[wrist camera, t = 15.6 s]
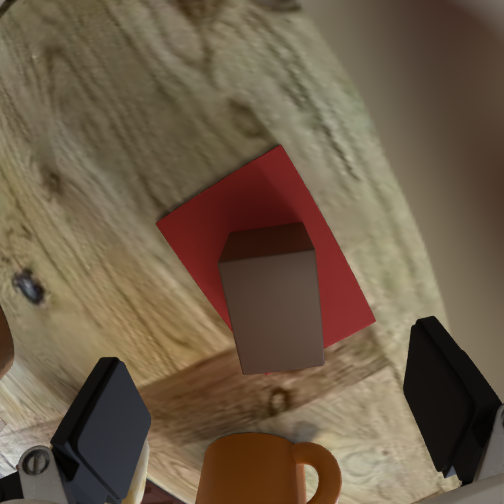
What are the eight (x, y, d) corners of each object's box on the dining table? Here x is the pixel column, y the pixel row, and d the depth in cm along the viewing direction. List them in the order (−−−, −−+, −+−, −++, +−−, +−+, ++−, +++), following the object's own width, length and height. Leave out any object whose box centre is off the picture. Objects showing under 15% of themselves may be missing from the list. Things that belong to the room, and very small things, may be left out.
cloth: (157, 221, 18) (155, 223, 17) (280, 144, 16) (280, 144, 16) (265, 371, 21) (265, 375, 20) (374, 318, 19) (376, 321, 19)
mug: (346, 463, 25) (360, 542, 16) (230, 486, 27) (222, 559, 18) (324, 409, 22) (340, 510, 14) (186, 440, 24) (165, 527, 15)
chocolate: (228, 232, 17) (216, 262, 13) (303, 221, 17) (315, 248, 13) (248, 327, 19) (243, 376, 15) (313, 318, 19) (324, 365, 15)
